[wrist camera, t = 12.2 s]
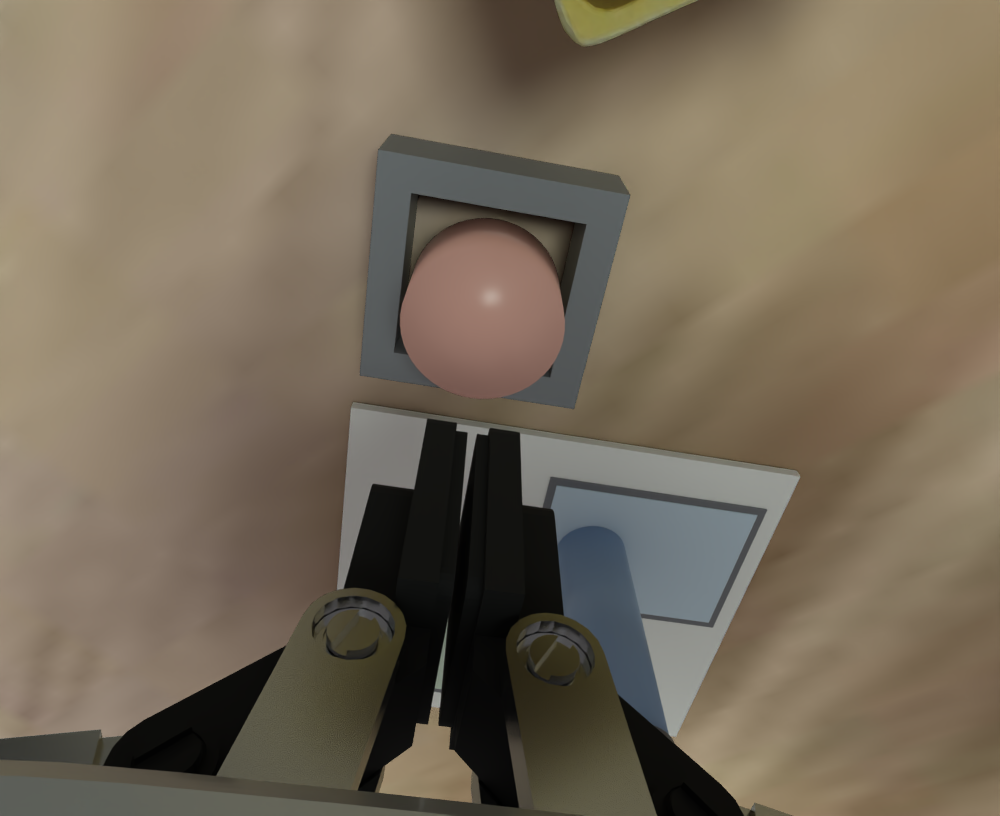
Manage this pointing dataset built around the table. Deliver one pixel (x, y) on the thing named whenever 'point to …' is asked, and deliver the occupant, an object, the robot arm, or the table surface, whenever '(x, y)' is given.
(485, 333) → the button
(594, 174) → the button collar
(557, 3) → the flower pot
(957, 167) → the table surface
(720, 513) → the sheet
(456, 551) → the robot arm
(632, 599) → the cylinder
